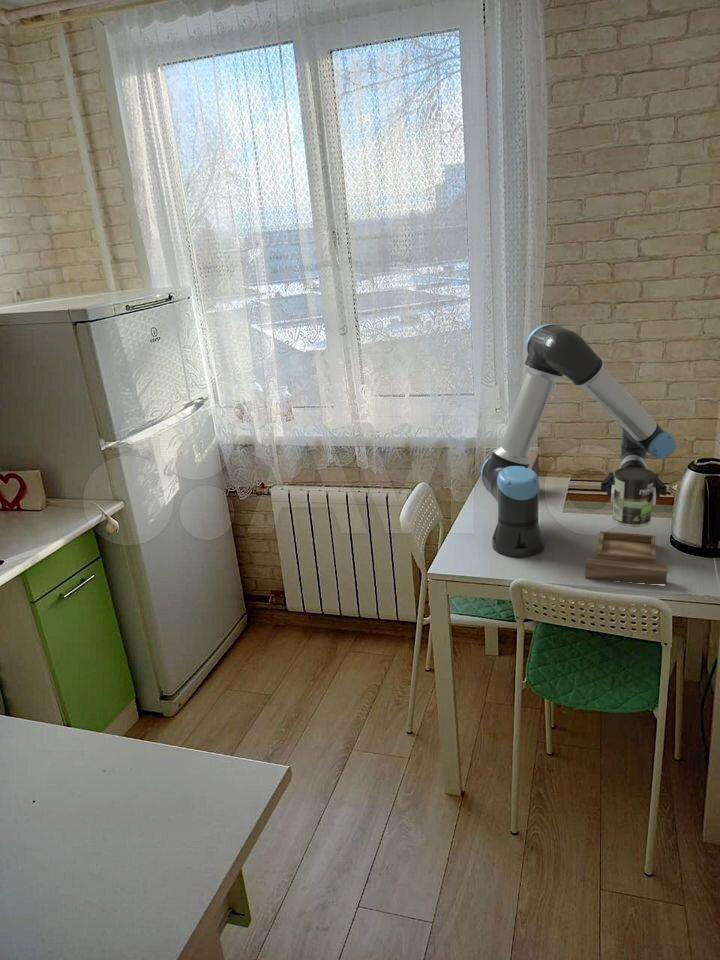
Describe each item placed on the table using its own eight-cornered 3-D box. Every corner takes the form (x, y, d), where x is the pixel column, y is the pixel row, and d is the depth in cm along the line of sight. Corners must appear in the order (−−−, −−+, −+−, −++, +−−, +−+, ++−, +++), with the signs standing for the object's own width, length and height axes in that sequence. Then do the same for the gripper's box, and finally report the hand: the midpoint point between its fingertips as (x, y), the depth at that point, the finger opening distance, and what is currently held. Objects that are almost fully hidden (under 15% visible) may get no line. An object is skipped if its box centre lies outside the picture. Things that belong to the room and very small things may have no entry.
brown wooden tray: (654, 569, 193) (655, 559, 192) (596, 563, 198) (597, 553, 197) (654, 544, 206) (655, 535, 205) (600, 540, 211) (600, 531, 210)
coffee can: (658, 519, 200) (662, 472, 195) (637, 530, 195) (640, 482, 190) (626, 509, 208) (629, 464, 203) (604, 519, 203) (607, 473, 198)
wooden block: (538, 490, 252) (539, 441, 246) (522, 499, 245) (522, 450, 239) (529, 488, 255) (530, 440, 248) (513, 497, 248) (513, 448, 241)
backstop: (665, 588, 184) (667, 571, 182) (585, 579, 191) (585, 563, 190) (665, 582, 187) (666, 565, 185) (585, 574, 194) (586, 558, 192)
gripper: (672, 485, 212) (676, 514, 192) (593, 480, 219) (589, 508, 200) (675, 461, 209) (679, 489, 190) (594, 457, 217) (590, 484, 197)
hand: (633, 499), depth 195 cm, fingers closed on coffee can, 10 cm apart
